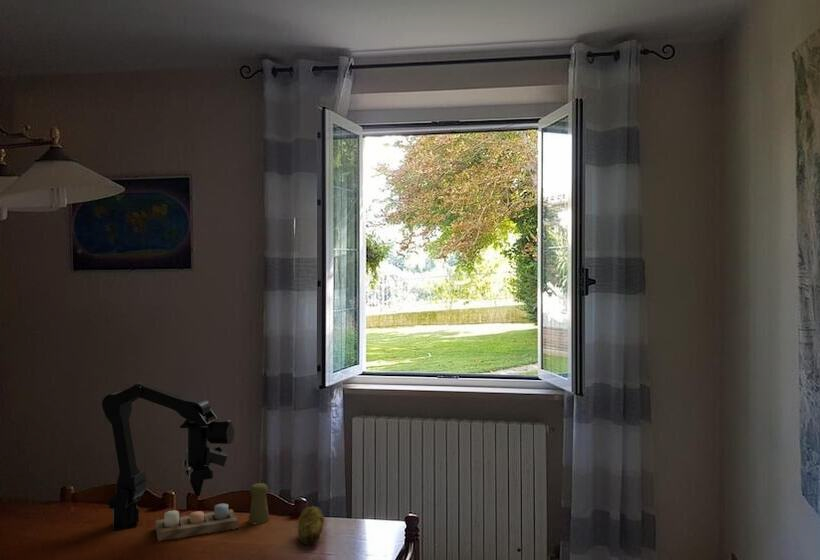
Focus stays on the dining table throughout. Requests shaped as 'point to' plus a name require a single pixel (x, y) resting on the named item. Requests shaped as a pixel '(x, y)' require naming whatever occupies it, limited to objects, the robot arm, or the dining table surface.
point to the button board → (195, 526)
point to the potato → (310, 525)
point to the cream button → (171, 519)
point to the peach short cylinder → (196, 517)
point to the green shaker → (259, 504)
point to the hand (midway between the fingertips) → (197, 496)
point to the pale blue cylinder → (220, 511)
